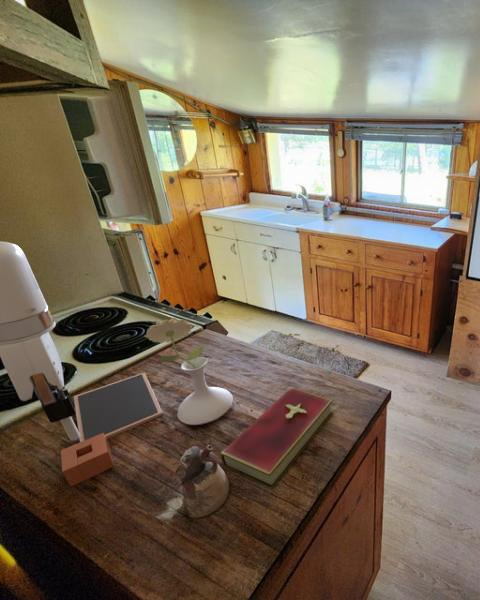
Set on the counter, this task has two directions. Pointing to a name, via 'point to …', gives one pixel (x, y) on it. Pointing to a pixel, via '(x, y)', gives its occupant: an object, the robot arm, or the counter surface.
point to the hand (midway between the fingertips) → (63, 414)
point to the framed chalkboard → (116, 407)
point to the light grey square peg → (70, 428)
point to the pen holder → (86, 459)
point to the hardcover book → (277, 437)
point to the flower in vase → (192, 376)
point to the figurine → (202, 481)
